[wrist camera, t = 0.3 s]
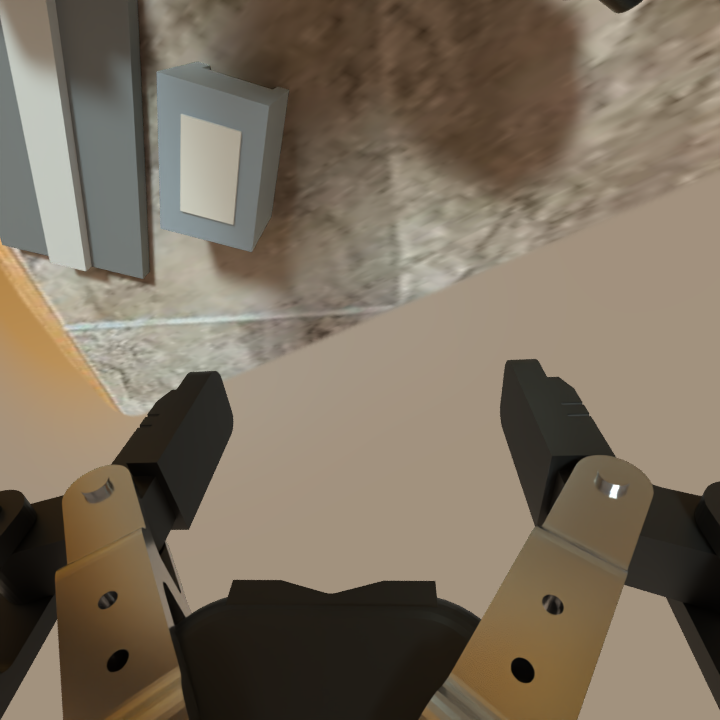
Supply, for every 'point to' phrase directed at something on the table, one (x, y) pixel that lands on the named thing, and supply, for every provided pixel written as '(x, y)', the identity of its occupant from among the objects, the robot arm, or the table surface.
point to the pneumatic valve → (620, 5)
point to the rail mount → (73, 133)
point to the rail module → (217, 154)
